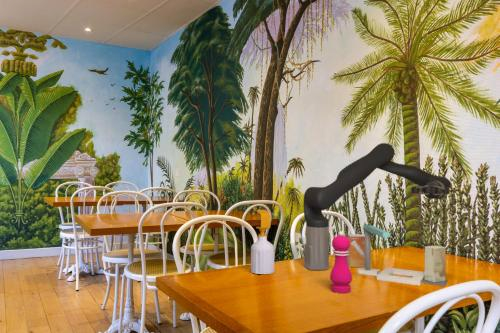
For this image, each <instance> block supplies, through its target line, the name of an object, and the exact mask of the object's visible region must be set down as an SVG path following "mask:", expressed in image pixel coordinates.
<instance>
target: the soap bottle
mask: <svg viewBox="0 0 500 333" xmlns="http://www.w3.org/2000/svg"><path fill="white" fill-rule="evenodd" d="M256 213H258V214H259V216H260V226H255V228H256V229H258V231H260V233H258V235H257V236H258V239H257V241H255V242H254V243H253V244H251V246H250V273H251V274H253V273H255V274H254V275H257V274H269V275H272V274H274V272H275V247H274V244H272V243H271V242H270V241H268V239H267V238H268V235H267V234H265V232H266V231H267V230H268V229H271V213H270V212H269V211H268V210H266V209H257V210H256Z"/></svg>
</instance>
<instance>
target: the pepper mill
mask: <svg viewBox="0 0 500 333" xmlns="http://www.w3.org/2000/svg"><path fill="white" fill-rule="evenodd" d="M344 234H345V232H344V231H343V230H339V231H338V235H337V236H334V237H333V239H332V241H331V246H332V248H333V249H334V250H333V255H334V264H333V267H332V269H331V271H330V275H329V280H330V281H331V283H332V284H331V291H332V292H333V291H334V292H333V293H336V292H339V293H338V294H347V293H348V294H349V293H350V292H351V288H352V286H351V285H350V283H351V282H352V281H353V275H352V271H351V270H350V267H349V266H348V262H347V255H349V254H348V252H349V251H348V248H349V247H350V240H349V239H348V236H345V235H344Z"/></svg>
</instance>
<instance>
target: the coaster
mask: <svg viewBox="0 0 500 333" xmlns="http://www.w3.org/2000/svg"><path fill="white" fill-rule="evenodd" d="M447 282H448V279H445V281H440V282H431V281H427V280H424V281H423V282H422V284H426V285H427V284H428V285H435V286H443V287H445V286H446V284H447Z"/></svg>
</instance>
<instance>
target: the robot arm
mask: <svg viewBox="0 0 500 333" xmlns="http://www.w3.org/2000/svg"><path fill="white" fill-rule="evenodd" d="M394 157H395V149H394V147H393V146H392V145H391V143H390V144H389V143H385V142H381V143H379V144H377V145H376V146H375V147H374V148H373V149H372V150H370V151H369V152H368V153H367V154H366V155H364V156H362V157H360V158H358V159H356V160H354V161H353V162H351V163H350V164H348V165H347V166H345V167H344V168H342V169H341V170H340V171H339V172H338V174H337V176H336V179H335V180H334V181H333V182H332V183H330V184H328V185H326V186H322V187H321V186H320V187H319V186H310V187H308V188H306V190H305V191H304V194H303V217H304V221H305V224H306V225H305V227H306V228H305V229H306V230H305V232H306V233H305V235H306V236H305V237H306V238H305V240H306V241H305V242H306V243H304V248H303V249H304V252H303V253H304V258H303V259H304V263H303V264H304V268H306V269H308V270H309V271H310V270H311V271H325V270H329V269H330V259H329V258H330V251H329V250H330V247H329V246H330V221H329V219H328V218H327V217H326V216H325V215H324V214H323V212H322V211H325V210H328V209H330V207H332V206H333V205H334V204H335V203H336V202H337V201H338V200H339V199H341V198H342V197H343V196H344V195H345V194H347V193H348V192H350V191H351V190H352V189H354V188H355V187H357V186H358V185H360V184H361V183H362V182H363V181H365V180H366V179H367V178H368V177H370V175H372V173H373V172H374V171H375V170H376V169H378V170H382V171H384V172H388V173H390V174H392V175H396V176H399V177H401V178H403V179H405V180H408V181H409V182H411V183H414V184H416V185H418V186H419V187H418V186H411V194H419V195H425V197H426V198H429V199H432V200H434V199H436V200H442V199H443V198H444V197H445V195H450V193H451V192H450V190H451V189H450V188H451V186H452V182H451V181H450V179H449V178H447V177H444V176H440V175H436V174H432V173H429V172H427V171H425V170H423V169H421V168H419V167H417V166H414V165H409V164H402V163H398V162H395V161H392V160H393V158H394Z"/></svg>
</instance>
